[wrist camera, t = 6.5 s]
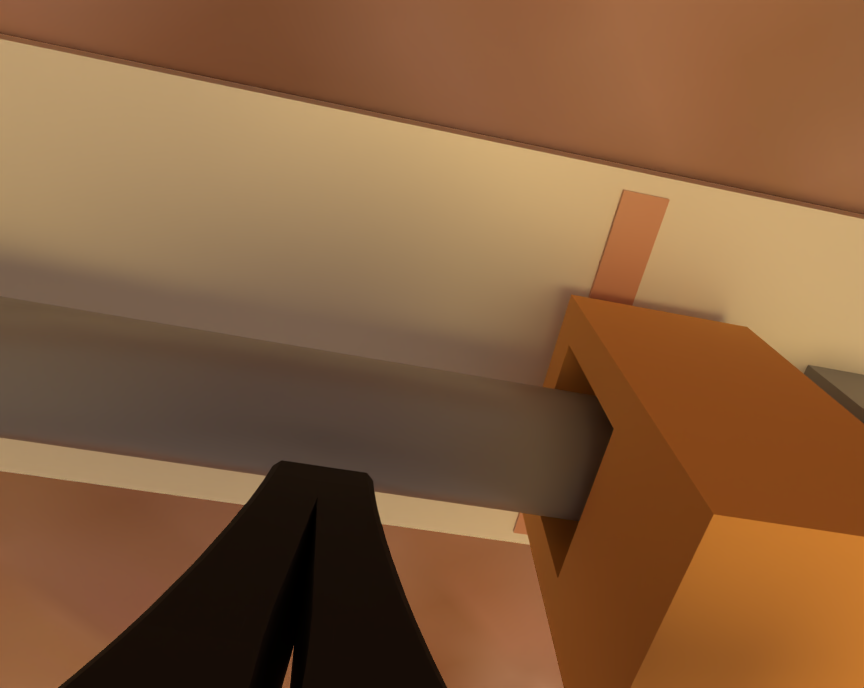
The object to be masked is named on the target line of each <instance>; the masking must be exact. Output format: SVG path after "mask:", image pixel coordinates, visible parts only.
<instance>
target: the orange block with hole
mask: <svg viewBox="0 0 864 688" xmlns="http://www.w3.org/2000/svg"><path fill="white" fill-rule="evenodd" d="M543 387H546V388H552V389H558V390H564V391H570V392H576V393H582V394H588V395H594V396H597V398H598V400H599V402H600V404H601V406H602V408H603V410H604V411H605V413H606V415H607V417H608V419H609V421H610V423H611V425H612V427H613V428H614V430H613V432H612V435H611V438H610V440H609V443H608V446H607V448H606V451H605V454H604V456H603V459H602V462H601V464H600V467H599V470H598V472H597V475H596V478H595V481H594V483H593V486H592V489H591V491H590V494H589V497H588V499H587V502H586V505H585V507H584V510H583V513H582V515H581V518H580V521H574V520H567V519H560V518H553V517H547V516H540V515H533V514H526V513H522V514H523V518H524V522H525V526H526V531H527V535H528V539H529V543H530V547H531V552H532V556H533V560H534V564H535V568H536V573H537V577H538V581H539V585H540V589H541V594H542V598H543V602H544V606H545V610H546V614H547V619H548V623H549V627H550V631H551V635H552V640H553V644H554V648H555V652H556V656H557V661H558V665H559V669H560V673H561V677H562V682H563V686H564V688H864V423H862V422H861V421H860V420H859V419H858V418H856V417H855V416H854V415H853V414H852V413H850V412H849V411H848V410H847V409H845V408H844V407H843V406H842V405H841V404H839V403H838V402H837V401H836V400H835V399H833V398H832V397H831V396H830V395H829V394H827V393H826V392H825V391H824V390H823V389H821V388H820V387H819V386H818V385H817V384H815V383H814V382H813V381H812V380H811V379H809V378H808V377H807V376H806V375H805V374H803V373H802V372H801V371H800V370H799V369H797V368H796V367H795V366H794V365H793V364H791V363H790V362H789V361H788V360H786V359H785V358H784V357H783V356H782V355H780V354H779V353H778V352H777V351H776V350H774V349H773V348H772V347H771V346H770V345H768V344H767V343H766V342H765V341H764V340H762V339H761V338H760V337H759V336H758V335H756V334H755V333H754V332H753V331H752V330H750V329H749V328H748V327H745V326H740V325H734V324H729V323H723V322H718V321H712V320H707V319H702V318H696V317H691V316H685V315H680V314H675V313H669V312H664V311H658V310H653V309H647V308H642V307H637V306H631V305H626V304H620V303H615V302H609V301H604V300H599V299H593V298H588V297H582V296H577V295H572V294H571V297H570V300H569V303H568V306H567V310H566V313H565V316H564V319H563V322H562V326H561V329H560V332H559V335H558V339H557V342H556V345H555V348H554V351H553V355H552V358H551V361H550V364H549V368H548V371H547V374H546V377H545V380H544V384H543Z"/></svg>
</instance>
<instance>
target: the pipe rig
mask: <svg viewBox="0 0 864 688" xmlns="http://www.w3.org/2000/svg"><path fill="white" fill-rule="evenodd" d="M571 294H572V295H577V296H582V297H588V298H593V299H599V300H604V301H609V302H615V303H620V304H626V305H631V306H637V307H642V308H647V309H653V310H658V311H664V312H669V313H675V314H680V315H685V316H691V317H696V318H702V319H707V320H712V321H718V322H723V323H729V324H734V325H740V326H745V327H748V328H749V329H750V330H752V331H753V332H754V333H755V334H756V335H758V336H759V337H760V338H761V339H762V340H764V341H765V342H766V343H767V344H768V345H770V346H771V347H772V348H773V349H774V350H776V351H777V352H778V353H779V354H780V355H782V356H783V357H784V358H785V359H786V360H788V361H789V362H790V363H791V364H793V365H794V366H795V367H796V368H797V369H799V370H800V371H801V372H802V373H803V374H805V375H806V376H807V377H808V378H809V379H811V380H812V381H813V382H814V383H815V384H817V385H818V386H819V387H820V388H821V389H823V390H824V391H825V392H826V393H827V394H829V395H830V396H831V397H832V398H833V399H835V400H836V401H837V402H838V403H839V404H841V405H842V406H843V407H844V408H845V409H847V410H848V411H849V412H850V413H852V414H853V415H854V416H855V417H856V418H858V419H859V420H860V421H861V422H862V423H864V214H859V213H854V212H850V211H845V210H840V209H835V208H831V207H826V206H821V205H816V204H811V203H807V202H802V201H797V200H792V199H788V198H783V197H778V196H773V195H769V194H764V193H759V192H754V191H749V190H745V189H740V188H735V187H730V186H726V185H721V184H716V183H711V182H707V181H702V180H697V179H692V178H687V177H683V176H678V175H673V174H668V173H664V172H659V171H654V170H649V169H645V168H640V167H635V166H630V165H625V164H621V163H616V162H611V161H606V160H602V159H597V158H592V157H587V156H583V155H578V154H573V153H568V152H563V151H559V150H554V149H549V148H544V147H540V146H535V145H530V144H525V143H521V142H516V141H511V140H506V139H501V138H497V137H492V136H487V135H482V134H478V133H473V132H468V131H463V130H459V129H454V128H449V127H444V126H440V125H435V124H430V123H425V122H420V121H416V120H411V119H406V118H401V117H397V116H392V115H387V114H382V113H378V112H373V111H368V110H363V109H358V108H354V107H349V106H344V105H339V104H335V103H330V102H325V101H320V100H316V99H311V98H306V97H301V96H296V95H292V94H287V93H282V92H277V91H273V90H268V89H263V88H258V87H254V86H249V85H244V84H239V83H234V82H230V81H225V80H220V79H215V78H211V77H206V76H201V75H196V74H192V73H187V72H182V71H177V70H172V69H168V68H163V67H158V66H153V65H149V64H144V63H139V62H134V61H130V60H125V59H120V58H115V57H110V56H106V55H101V54H96V53H91V52H87V51H82V50H77V49H72V48H68V47H63V46H58V45H53V44H49V43H44V42H39V41H34V40H29V39H25V38H20V37H15V36H10V35H6V34H1V33H0V471H4V472H11V473H18V474H26V475H33V476H40V477H47V478H54V479H62V480H69V481H76V482H83V483H90V484H98V485H105V486H112V487H119V488H126V489H134V490H141V491H148V492H155V493H162V494H170V495H177V496H184V497H191V498H198V499H206V500H213V501H220V502H227V503H234V504H242V505H245V504H246V503H247V501H248V500H249V499H250V498H251V496H252V495H253V494H254V492H255V491H256V490H257V488H258V487H259V486H260V484H261V483H262V481H263V480H264V478H265V477H266V475H267V474H268V472H269V471H270V469H271V467H272V466H273V465H275V464H276V463H278V462H280V461H281V460H283V461H290V462H297V463H304V464H310V465H317V466H324V467H331V468H338V469H345V470H352V471H358V472H365V473H368V475H369V476H370V477H371V478H372V480H373V483H374V492H375V498H376V503H377V508H378V512H379V516H380V520H381V524H385V525H393V526H400V527H407V528H414V529H421V530H429V531H436V532H443V533H450V534H457V535H465V536H472V537H479V538H486V539H493V540H501V541H508V542H515V543H522V544H529V545H530V543H529V539H528V535H527V531H526V526H525V522H524V518H523V514H522V513H526V514H533V515H540V516H547V517H553V518H560V519H567V520H574V521H580V518H581V515H582V513H583V510H584V507H585V505H586V502H587V499H588V497H589V494H590V491H591V489H592V486H593V483H594V481H595V478H596V475H597V472H598V470H599V467H600V464H601V462H602V459H603V456H604V454H605V451H606V448H607V446H608V443H609V440H610V438H611V435H612V432H613V430H614V428H613V427H612V425H611V423H610V421H609V419H608V417H607V415H606V413H605V411H604V410H603V408H602V406H601V404H600V402H599V400H598V398H597V396H594V395H588V394H582V393H576V392H570V391H564V390H558V389H552V388H546V387H543V384H544V380H545V377H546V374H547V371H548V368H549V364H550V361H551V358H552V355H553V351H554V348H555V345H556V342H557V339H558V335H559V332H560V329H561V326H562V322H563V319H564V316H565V313H566V310H567V306H568V303H569V300H570V297H571Z"/></svg>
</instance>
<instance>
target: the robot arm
mask: <svg viewBox="0 0 864 688" xmlns="http://www.w3.org/2000/svg"><path fill="white" fill-rule="evenodd" d="M293 646H294V652H293V662H292V672H291V683H290V688H447V687H446V685H445V683H444V681H443V678H442V676H441V674H440V672H439V670H438V668H437V666H436V664H435V662H434V660H433V658H432V656H431V654H430V652H429V649H428V647H427V645H426V643H425V640H424V638H423V636H422V634H421V631H420V629H419V627H418V624H417V622H416V620H415V618H414V615H413V613H412V610H411V608H410V605H409V603H408V600H407V598H406V595H405V593H404V590H403V587H402V585H401V582H400V579H399V576H398V574H397V571H396V568H395V565H394V562H393V560H392V557H391V554H390V551H389V548H388V545H387V541H386V538H385V534H384V531H383V527H382V524H381V520H380V516H379V512H378V508H377V503H376V498H375V492H374V483H373V480H372V478H371V477H370V476H369V475H368V473H365V472H358V471H352V470H345V469H338V468H331V467H324V466H317V465H310V464H304V463H297V462H290V461H283V460H281V461H280V462H278V463H276V464H275V465H273V466H272V467H271V469H270V471H269V472H268V474H267V475H266V477H265V478H264V480H263V481H262V483H261V484H260V486H259V487H258V488H257V490H256V491H255V492H254V494H253V495H252V496H251V498H250V499H249V500H248V501H247V503H246V504H245V505H244V506H243V508H242V509H241V510H240V511H239V513H238V514H237V515H236V516H235V517H234V519H233V520H232V521H231V522H230V523H229V525H228V526H227V527H226V528H225V529H224V530H223V531H222V532H221V534H220V535H219V536H218V537H217V538H216V539H215V540H214V541H213V543H212V544H211V545H210V546H209V547H208V548H207V549H206V550H205V552H204V553H203V554H202V555H201V556H200V557H199V558H198V559H197V560H196V561H195V562H194V563H193V565H192V566H191V567H190V568H189V569H188V570H187V571H186V572H185V573H184V574H183V575H182V576H181V577H180V578H179V579H178V580H177V581H176V582H175V583H174V584H173V585H172V586H171V587H170V588H169V589H168V590H167V591H166V592H165V593H164V594H163V595H162V596H161V597H160V598H159V599H158V600H157V601H156V602H155V603H154V604H153V605H152V606H151V607H150V608H149V609H148V610H146V611H145V612H144V613H143V614H142V615H141V616H140V617H139V618H138V619H137V620H136V621H135V622H134V623H132V624H131V625H130V626H129V627H128V628H127V629H126V630H125V631H124V632H123V633H122V634H120V635H119V636H118V637H117V638H116V639H115V640H114V641H113V642H111V643H110V644H109V645H108V646H107V647H106V648H105V649H104V650H102V651H101V652H100V653H99V654H98V655H97V656H95V657H94V658H93V659H92V660H91V661H90V662H88V663H87V664H86V665H85V666H84V667H82V668H81V669H80V670H79V671H78V672H77V673H75V674H74V675H73V676H72V677H71V678H69V679H68V680H67V681H66V682H65V683H63V684H62V685H61V686H60V687H58V688H282V685H283V681H284V678H285V674H286V671H287V667H288V664H289V660H290V657H291V653H292V650H293Z"/></svg>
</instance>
